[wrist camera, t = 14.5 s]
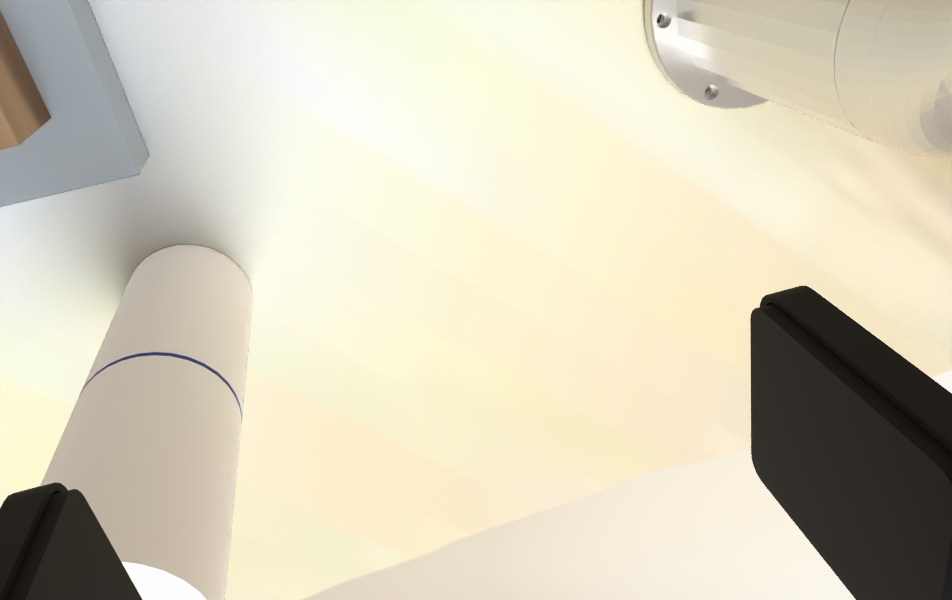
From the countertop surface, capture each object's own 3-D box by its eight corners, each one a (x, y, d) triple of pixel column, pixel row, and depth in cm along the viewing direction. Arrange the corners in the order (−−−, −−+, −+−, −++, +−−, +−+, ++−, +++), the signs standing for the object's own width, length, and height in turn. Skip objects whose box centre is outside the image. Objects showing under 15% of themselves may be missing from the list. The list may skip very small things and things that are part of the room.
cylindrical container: (238, 235, 45) (190, 538, 23) (263, 340, 48) (242, 690, 27) (111, 255, 44) (-64, 591, 22) (146, 360, 47) (23, 743, 26)
